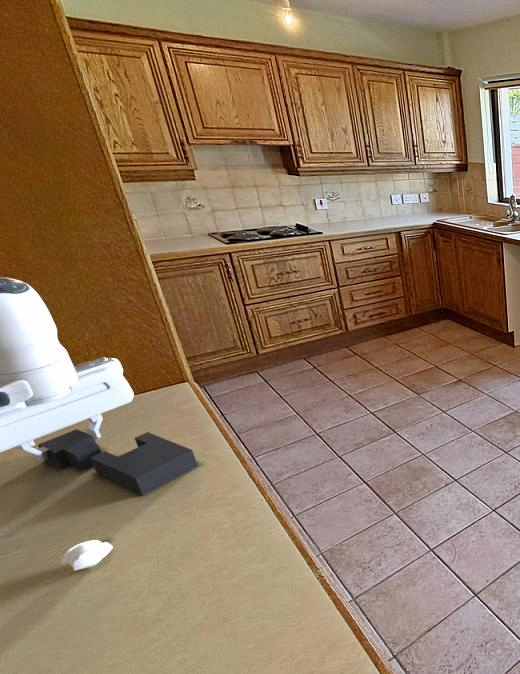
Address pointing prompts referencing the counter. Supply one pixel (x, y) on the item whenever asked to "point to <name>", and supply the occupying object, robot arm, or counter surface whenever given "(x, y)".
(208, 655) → the counter surface
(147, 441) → the base pad
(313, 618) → the counter surface
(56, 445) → the pad
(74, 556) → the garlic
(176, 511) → the counter surface
